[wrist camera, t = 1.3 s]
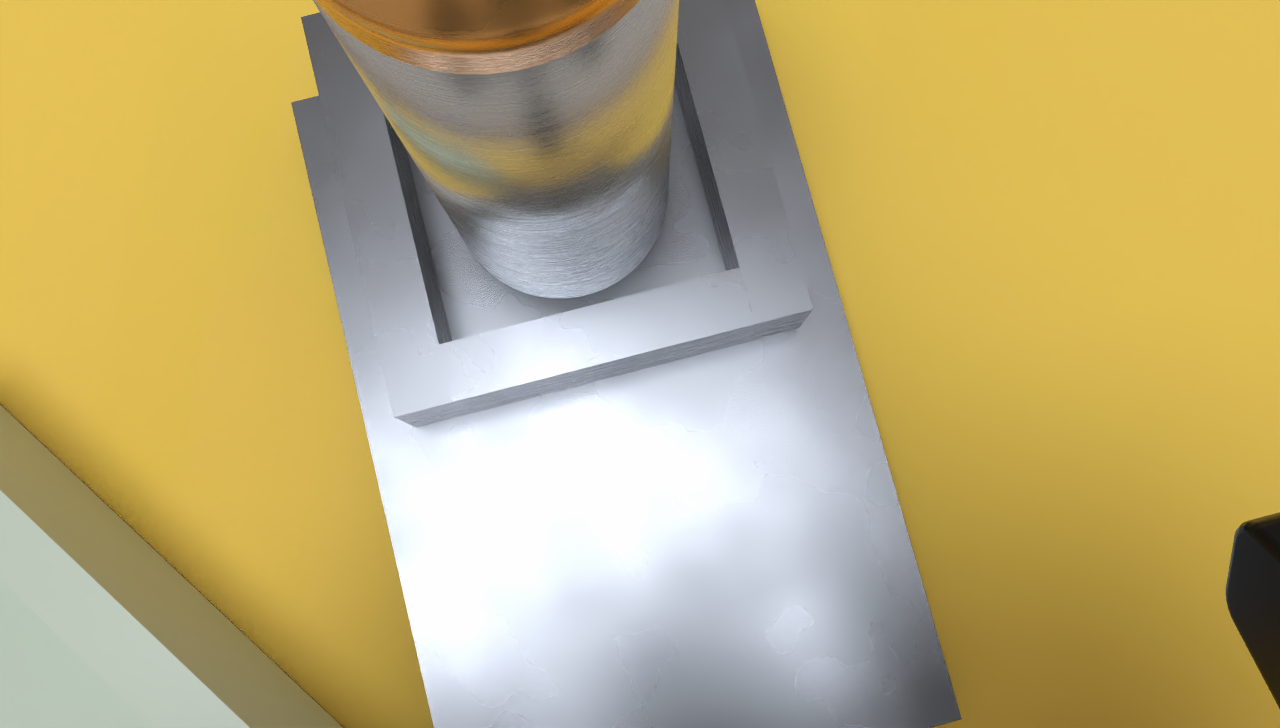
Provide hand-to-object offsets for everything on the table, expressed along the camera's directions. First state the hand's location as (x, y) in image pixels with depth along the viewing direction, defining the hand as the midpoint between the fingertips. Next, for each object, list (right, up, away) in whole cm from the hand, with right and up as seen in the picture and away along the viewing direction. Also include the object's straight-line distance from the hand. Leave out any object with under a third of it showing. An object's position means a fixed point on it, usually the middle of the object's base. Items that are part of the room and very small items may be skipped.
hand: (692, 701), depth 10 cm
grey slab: (-1, +2, +14) cm, 14 cm away
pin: (-2, +6, +13) cm, 15 cm away
